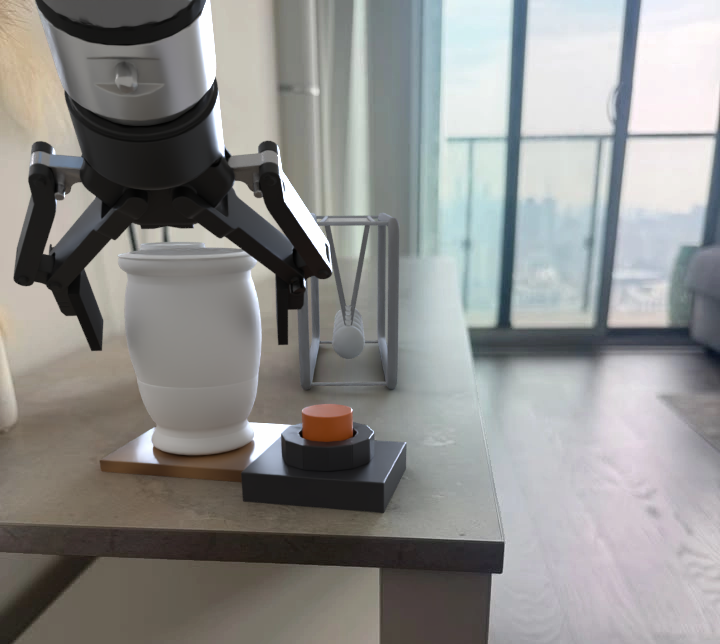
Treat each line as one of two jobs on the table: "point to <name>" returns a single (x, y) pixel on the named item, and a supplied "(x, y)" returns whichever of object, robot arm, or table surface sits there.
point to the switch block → (326, 471)
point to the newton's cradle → (349, 319)
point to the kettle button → (327, 422)
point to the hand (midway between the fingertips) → (191, 333)
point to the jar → (194, 344)
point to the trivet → (190, 457)
